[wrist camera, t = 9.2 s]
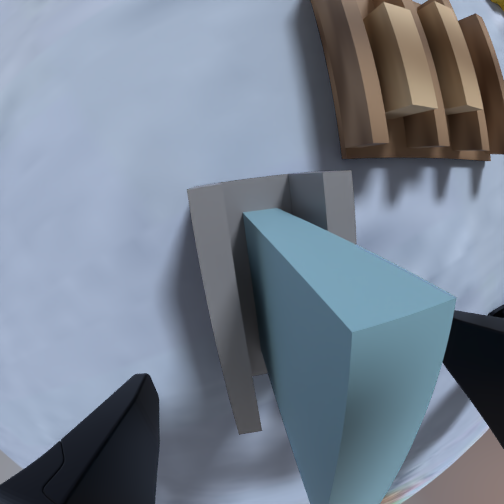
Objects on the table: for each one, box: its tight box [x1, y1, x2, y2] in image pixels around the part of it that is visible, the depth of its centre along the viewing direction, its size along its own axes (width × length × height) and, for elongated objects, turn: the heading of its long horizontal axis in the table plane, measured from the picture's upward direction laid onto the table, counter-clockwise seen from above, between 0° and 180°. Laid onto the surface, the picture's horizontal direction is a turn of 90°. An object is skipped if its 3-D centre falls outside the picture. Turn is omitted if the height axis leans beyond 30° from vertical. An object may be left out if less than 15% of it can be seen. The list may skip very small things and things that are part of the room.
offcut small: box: [363, 2, 438, 119], centre depth 10 cm, size 5×2×4 cm, turn 8°
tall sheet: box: [243, 208, 456, 504], centre depth 8 cm, size 7×2×10 cm, turn 7°
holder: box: [187, 170, 356, 435], centre depth 11 cm, size 10×5×4 cm, turn 8°
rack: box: [311, 0, 504, 161], centre depth 10 cm, size 11×12×3 cm
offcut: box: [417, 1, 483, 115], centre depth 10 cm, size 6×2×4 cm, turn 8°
